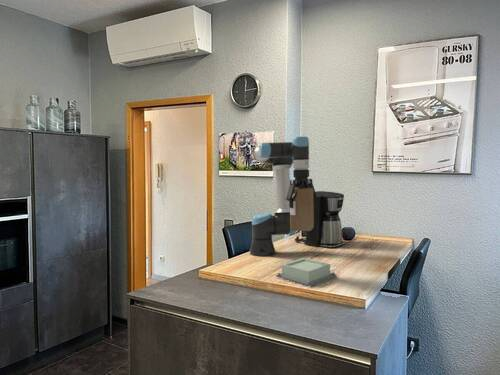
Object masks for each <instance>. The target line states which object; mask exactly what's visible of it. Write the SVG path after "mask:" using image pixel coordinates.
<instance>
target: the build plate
mask: <svg viewBox="0 0 500 375" xmlns="http://www.w3.org/2000/svg"><path fill="white" fill-rule="evenodd" d="M276 277H279V278H283V279H286V280H289V281H288V282H290V281H292V282H291V283H293V282H295V283H294V284H297V283H299V284H298V285H300V284H302V285H301V286H303V285H306V286H305V287H307V286H312V287H314V286H317V285H319V284H318V283H320V284H322V283H325V282H326V281H329V280H332V279H335V278H337V274H336V273H335V272H334V271H333V272H331V264H330V263H327V262H323V261H318V260H313V259H308V258H303V257H302V258H300V259H297V260H294V261H290V262H287V263H286V262H285V263H282V264H281V273H280V272H278V273H277V274H276V275H275V278H276ZM279 278H278V279H279ZM283 279H282V280H283ZM286 280H285V281H286ZM324 281H325V282H324ZM321 282H322V283H321ZM316 284H317V285H316ZM313 285H314V286H313Z"/></svg>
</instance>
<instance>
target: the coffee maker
mask: <svg viewBox="0 0 500 375" xmlns="http://www.w3.org/2000/svg"><path fill="white" fill-rule="evenodd" d="M315 192H316V195H317V196H316V198H315V199H314V227H313V229H312V230H311V231H305V237H301V238H300V236H296V237H295V238H294V241H295V242H301V243H302V242H303V244H304V245H307V246H311V247H317V248H326V249H334V248H335V249H336V248H339V247H341V246H343V245H344V244H345V241H343V228H342V222H341V221H342V220H341V218H340V216H339V213H340V212H341V211H342V209H343V205H344V199H345V195H344V194H343V193H339V192H335V191H324V190H315Z"/></svg>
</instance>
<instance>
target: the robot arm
mask: <svg viewBox="0 0 500 375" xmlns="http://www.w3.org/2000/svg"><path fill="white" fill-rule="evenodd" d="M252 154H253V158H254V160H255V161H257V163H261V164H264V165H265V164H266V165H269V164H270V165H272V168H273V169H274V170H275V173H274V174H275V191H276V192H275V193H276V194H275V195H276V210H275V211H274V215H272V213H271V212H265V213H258V214H255V215H253V217H252V218H251V226H252V228H251V232H252V240H251V244H250V248H249V254H250V255H252V256H257V257H267V256H268V257H269V256H272V255H275V254H276V248H275V245H274V242H273V236H282V235H284V236H285V235H288V236H289V235H293V234H294V235H295V233H296V232H297V231H292V230H291V225H290V215H296V212H295V201H294V199H295V197H296V195H297V191H296V192H294V189H301V188H313V204H314V199H315V198H316V196H317V195H316V190H315V187H314V184H313V178H309V177H310V170H309V168H310V141H309V137H308V136H294V137H293V138H292V141H287V142H286V141H283V142H281V141H280V142H266V141H265V142H261V143H259V145H258V146H256V147H255V148H254V150H253V152H252ZM291 168H293V171H292V172H293V174H292V175H293V176H292V177H293V178H294V179H291V171H290V170H291ZM293 192H294V193H293Z"/></svg>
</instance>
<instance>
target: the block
mask: <svg viewBox="0 0 500 375" xmlns="http://www.w3.org/2000/svg"><path fill="white" fill-rule="evenodd" d="M296 191H297V195H296V197H295V199H294V201H295V212H296V215H290V225H291V230H292V231H296V232H306V231H311V230H312V229H313V227H314V204H313V188H301V189H294V192H296ZM294 192H293V193H294Z"/></svg>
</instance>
